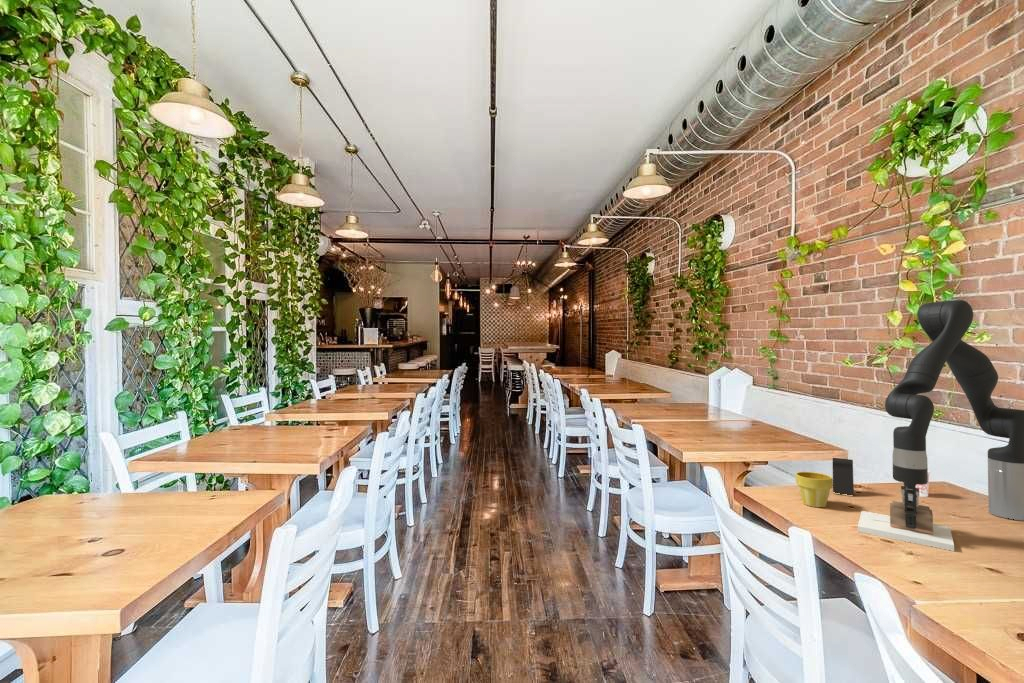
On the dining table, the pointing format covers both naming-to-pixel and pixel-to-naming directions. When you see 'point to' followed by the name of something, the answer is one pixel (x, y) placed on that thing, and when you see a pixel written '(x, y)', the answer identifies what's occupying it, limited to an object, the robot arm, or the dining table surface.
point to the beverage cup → (924, 488)
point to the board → (905, 531)
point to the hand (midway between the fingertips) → (910, 524)
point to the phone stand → (843, 476)
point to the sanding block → (922, 518)
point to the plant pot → (814, 488)
